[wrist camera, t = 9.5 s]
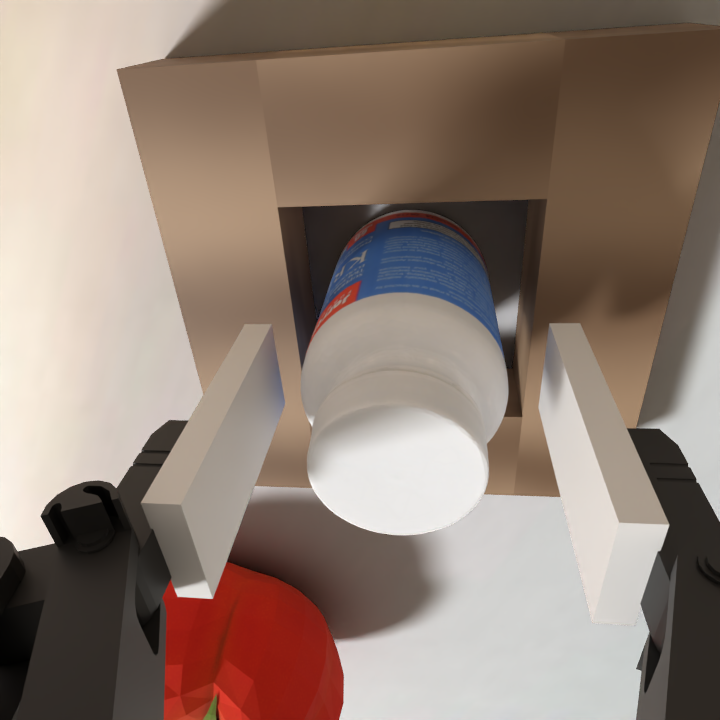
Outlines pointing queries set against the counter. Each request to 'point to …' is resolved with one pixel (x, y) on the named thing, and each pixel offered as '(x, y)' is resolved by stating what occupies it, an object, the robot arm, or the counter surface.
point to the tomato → (249, 653)
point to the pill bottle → (404, 377)
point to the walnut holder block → (435, 191)
